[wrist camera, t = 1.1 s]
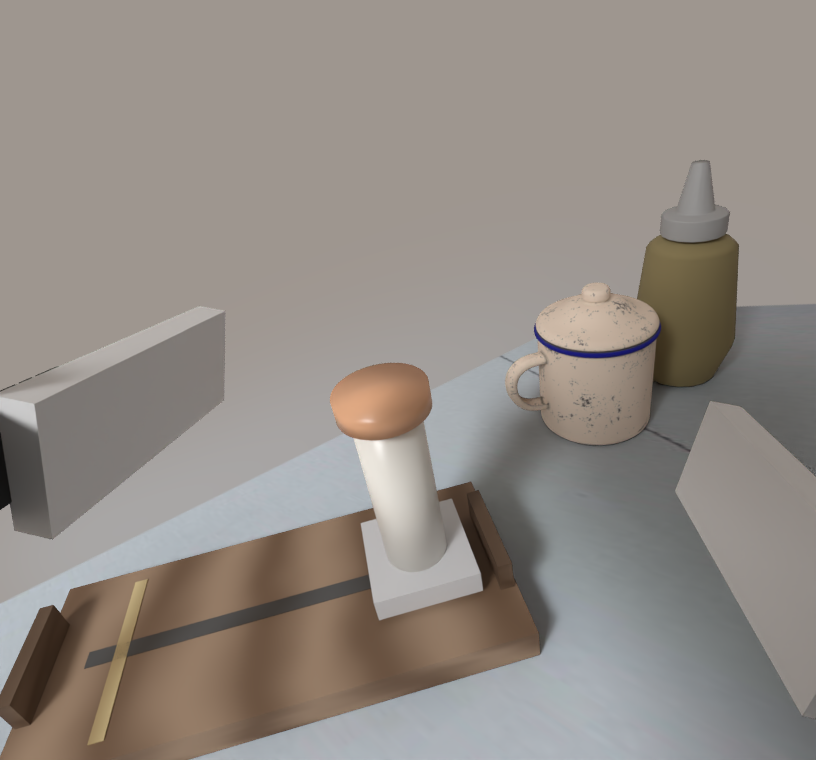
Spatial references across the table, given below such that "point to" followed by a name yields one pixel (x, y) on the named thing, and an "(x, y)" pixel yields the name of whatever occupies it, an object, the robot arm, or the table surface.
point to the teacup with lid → (592, 366)
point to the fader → (403, 492)
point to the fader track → (249, 645)
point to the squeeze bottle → (692, 284)
